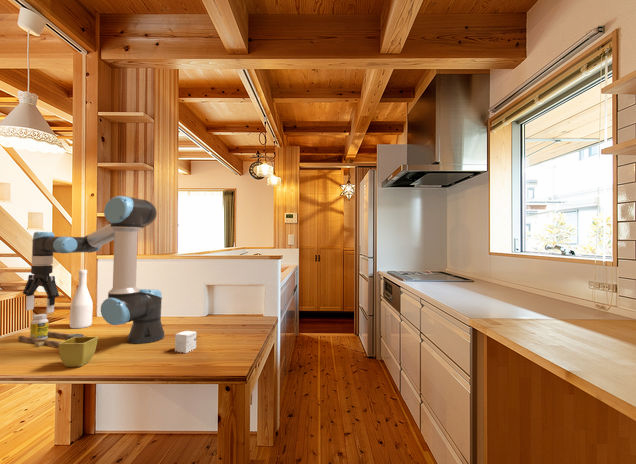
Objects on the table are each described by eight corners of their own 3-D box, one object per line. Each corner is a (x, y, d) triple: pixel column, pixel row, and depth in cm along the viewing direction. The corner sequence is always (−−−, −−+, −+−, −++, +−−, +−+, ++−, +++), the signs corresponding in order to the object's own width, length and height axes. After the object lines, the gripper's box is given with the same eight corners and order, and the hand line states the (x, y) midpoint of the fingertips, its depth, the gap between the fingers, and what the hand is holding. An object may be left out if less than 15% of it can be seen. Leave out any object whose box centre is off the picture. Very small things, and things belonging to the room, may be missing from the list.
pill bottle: (37, 341, 143) (38, 316, 144) (26, 340, 145) (27, 316, 145) (51, 337, 149) (52, 313, 150) (40, 336, 151) (41, 313, 151)
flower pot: (73, 360, 122) (74, 336, 122) (97, 359, 122) (98, 336, 123) (56, 369, 113) (57, 343, 113) (82, 369, 114) (83, 343, 114)
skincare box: (186, 353, 131) (186, 335, 131) (174, 351, 133) (174, 333, 133) (196, 349, 136) (196, 331, 137) (185, 347, 138) (185, 330, 139)
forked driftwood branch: (98, 340, 146) (98, 331, 146) (63, 350, 132) (63, 341, 132) (49, 333, 156) (49, 325, 156) (11, 342, 141) (12, 333, 141)
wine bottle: (83, 329, 164) (85, 270, 165) (64, 328, 164) (67, 270, 165) (96, 324, 174) (98, 269, 175) (78, 324, 174) (81, 268, 175)
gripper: (70, 265, 148) (67, 311, 147) (33, 263, 155) (30, 307, 155) (52, 266, 141) (49, 315, 140) (14, 264, 148) (11, 310, 148)
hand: (39, 311), depth 147 cm, fingers open, 13 cm apart
